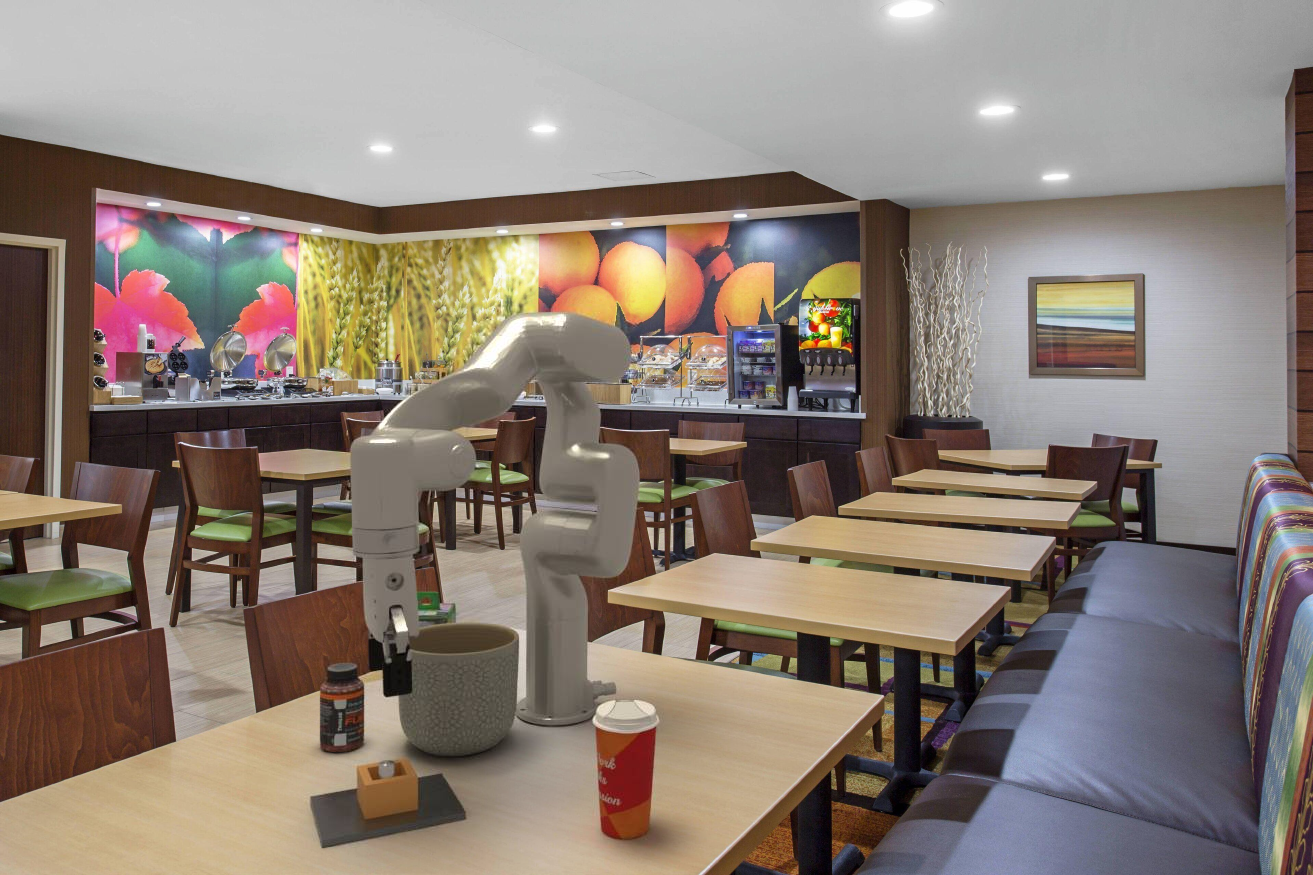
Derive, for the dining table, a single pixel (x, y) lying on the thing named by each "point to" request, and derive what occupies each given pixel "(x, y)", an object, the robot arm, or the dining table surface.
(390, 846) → the dining table surface
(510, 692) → the planter
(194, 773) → the dining table surface
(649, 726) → the paper cup
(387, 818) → the keeper plate
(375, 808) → the orange square collar
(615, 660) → the dining table surface
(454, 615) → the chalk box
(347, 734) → the supplement bottle
